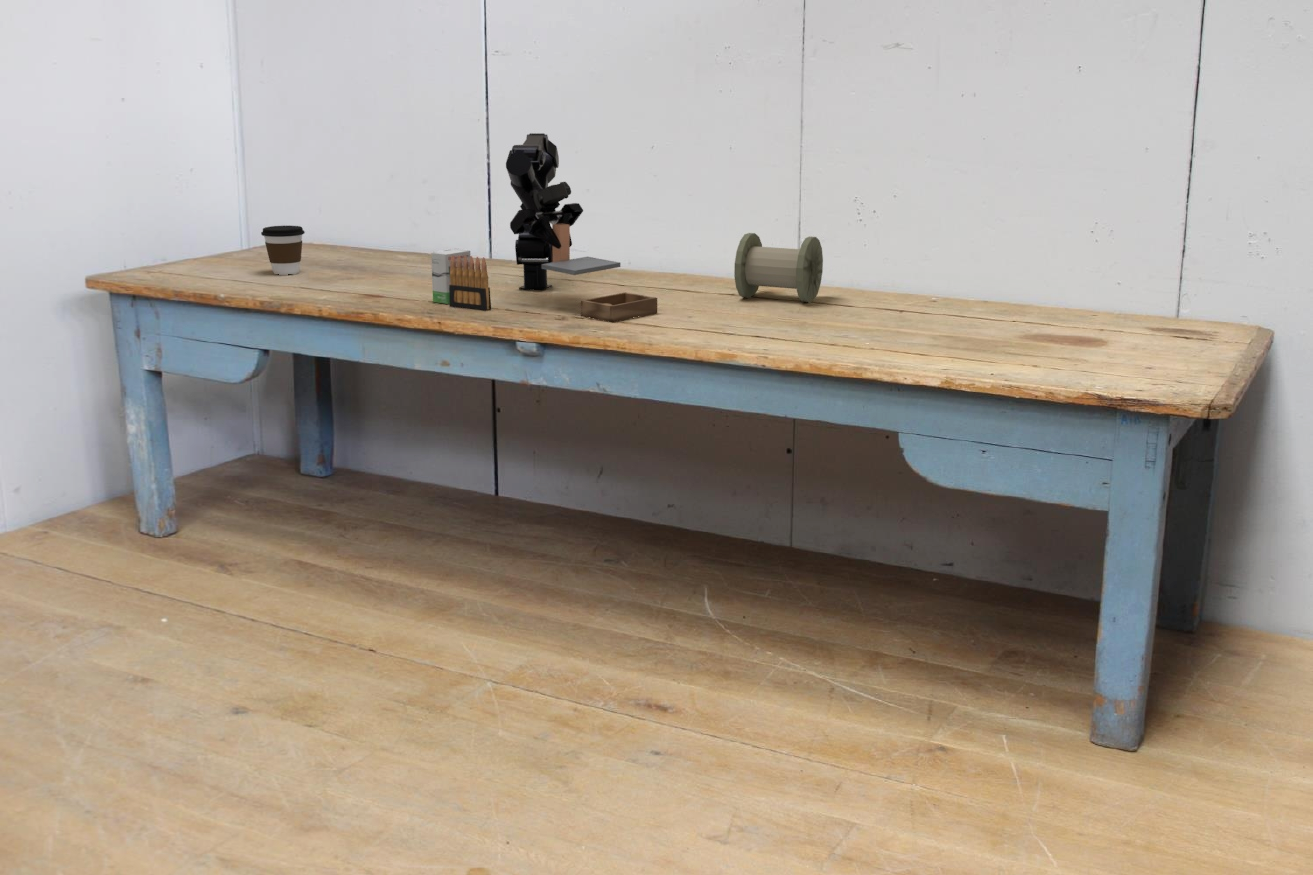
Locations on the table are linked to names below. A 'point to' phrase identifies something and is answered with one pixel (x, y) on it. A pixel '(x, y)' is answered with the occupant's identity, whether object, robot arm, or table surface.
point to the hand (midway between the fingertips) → (565, 246)
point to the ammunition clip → (469, 285)
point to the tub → (618, 307)
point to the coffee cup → (284, 248)
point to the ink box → (444, 272)
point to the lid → (573, 265)
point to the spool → (778, 267)
